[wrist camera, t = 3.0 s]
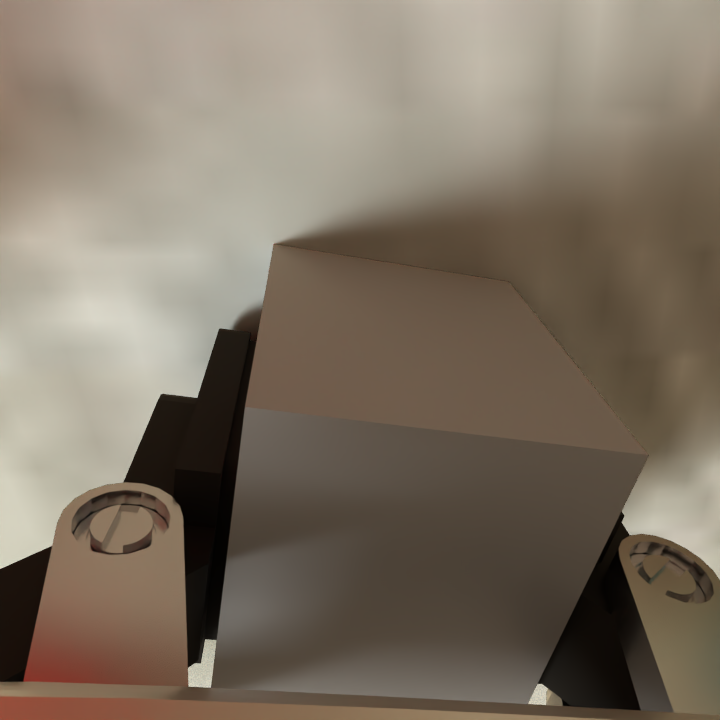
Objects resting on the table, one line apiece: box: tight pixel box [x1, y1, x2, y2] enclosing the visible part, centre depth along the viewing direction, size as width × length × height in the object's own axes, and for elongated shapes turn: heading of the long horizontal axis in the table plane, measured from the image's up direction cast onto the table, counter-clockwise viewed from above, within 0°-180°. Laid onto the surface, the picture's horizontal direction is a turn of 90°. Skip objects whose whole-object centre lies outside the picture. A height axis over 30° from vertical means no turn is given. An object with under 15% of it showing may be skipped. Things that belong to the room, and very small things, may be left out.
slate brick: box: [211, 244, 649, 704], centre depth 9 cm, size 6×4×5 cm, turn 169°
